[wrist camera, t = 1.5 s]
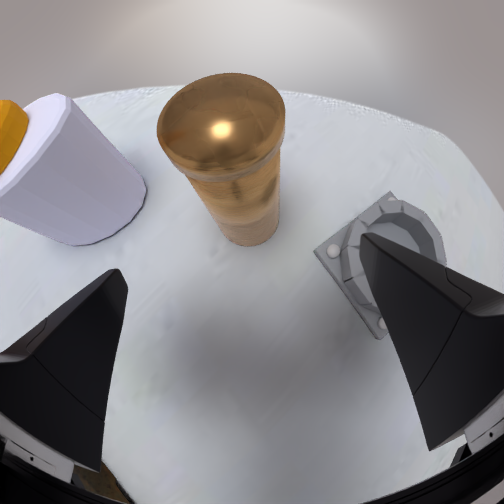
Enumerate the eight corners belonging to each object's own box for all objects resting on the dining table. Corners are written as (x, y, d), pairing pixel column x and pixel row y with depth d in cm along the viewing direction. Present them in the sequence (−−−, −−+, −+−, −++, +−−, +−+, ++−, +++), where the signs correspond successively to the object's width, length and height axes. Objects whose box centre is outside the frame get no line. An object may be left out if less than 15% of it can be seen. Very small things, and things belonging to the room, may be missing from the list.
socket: (443, 272, 20) (463, 266, 17) (376, 339, 19) (392, 343, 16) (387, 194, 22) (400, 178, 19) (313, 251, 21) (319, 241, 18)
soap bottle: (51, 256, 24) (-97, 196, 4) (57, 191, 26) (-61, 107, 6) (149, 231, 23) (-37, 88, 3) (148, 156, 25) (35, 3, 5)
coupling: (294, 223, 22) (313, 120, 9) (240, 261, 22) (194, 195, 9) (256, 177, 23) (237, 60, 11) (205, 211, 23) (139, 114, 10)
